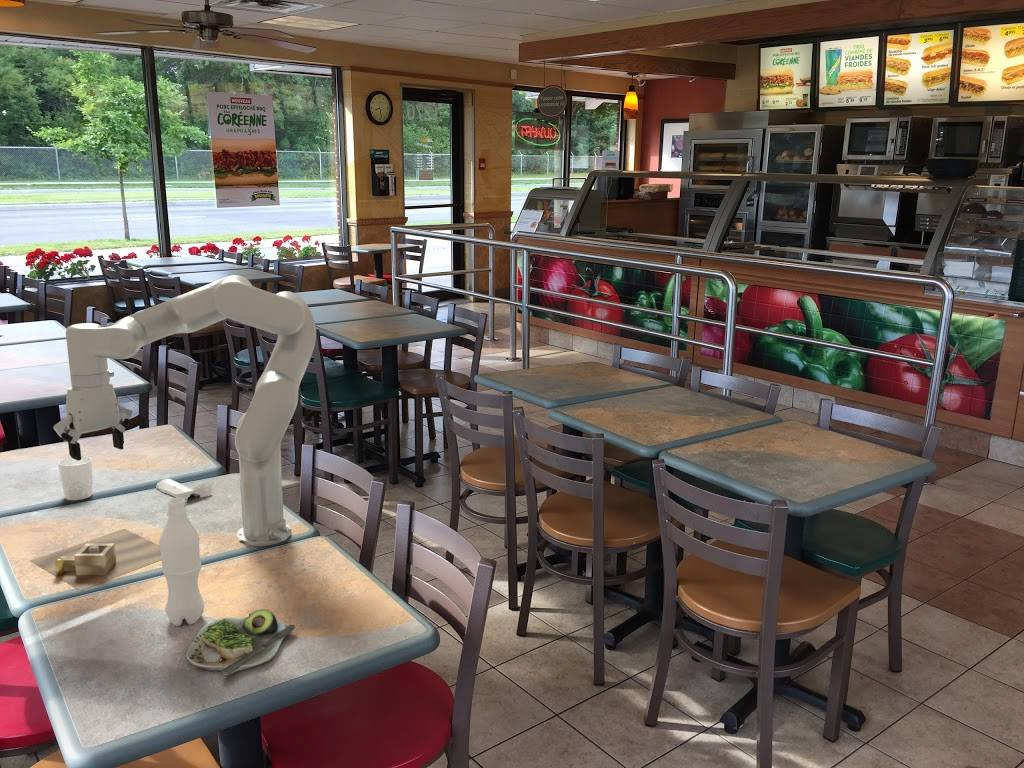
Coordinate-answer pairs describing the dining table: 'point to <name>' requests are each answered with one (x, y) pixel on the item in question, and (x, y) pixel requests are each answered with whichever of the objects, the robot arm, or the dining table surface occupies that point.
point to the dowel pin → (59, 567)
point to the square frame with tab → (91, 560)
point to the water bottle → (181, 565)
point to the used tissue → (182, 489)
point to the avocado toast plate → (239, 641)
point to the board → (124, 558)
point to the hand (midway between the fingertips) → (97, 453)
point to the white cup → (76, 477)
